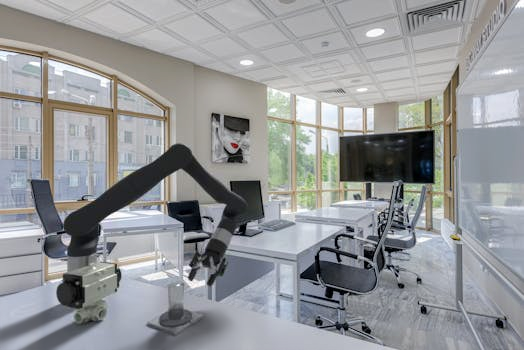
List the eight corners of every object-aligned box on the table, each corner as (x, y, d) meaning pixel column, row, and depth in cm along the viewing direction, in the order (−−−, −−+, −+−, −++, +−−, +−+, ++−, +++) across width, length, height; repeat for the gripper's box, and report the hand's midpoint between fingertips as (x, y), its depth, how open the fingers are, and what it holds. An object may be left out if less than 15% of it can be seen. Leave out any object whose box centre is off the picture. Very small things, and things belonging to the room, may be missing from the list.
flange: (147, 324, 92) (147, 320, 92) (175, 308, 102) (175, 304, 102) (175, 335, 86) (175, 330, 86) (203, 317, 97) (203, 312, 97)
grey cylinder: (164, 317, 94) (164, 285, 93) (175, 311, 98) (176, 280, 98) (176, 321, 91) (176, 288, 91) (186, 314, 95) (187, 283, 95)
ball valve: (76, 336, 85) (75, 274, 85) (55, 330, 88) (55, 270, 88) (125, 308, 102) (125, 257, 102) (106, 304, 105) (106, 254, 105)
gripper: (200, 235, 115) (178, 273, 106) (230, 240, 108) (210, 282, 99) (208, 245, 120) (189, 283, 111) (238, 250, 113) (219, 291, 104)
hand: (199, 282), depth 105 cm, fingers open, 8 cm apart
